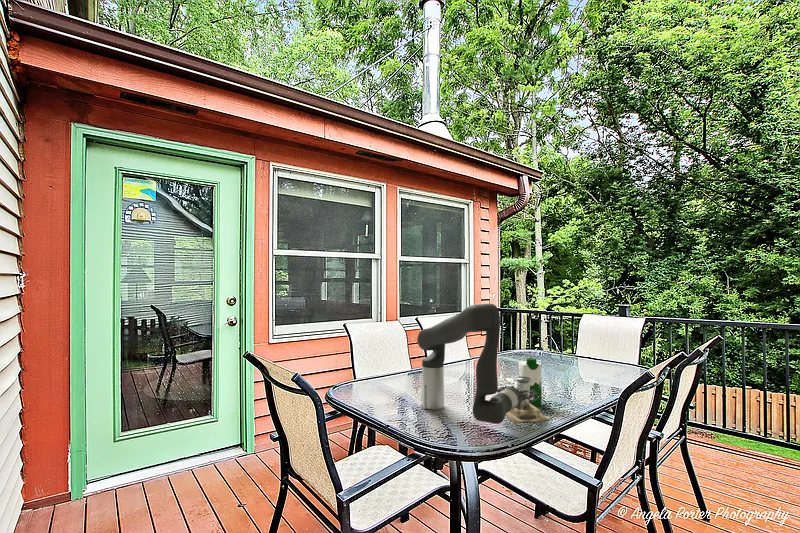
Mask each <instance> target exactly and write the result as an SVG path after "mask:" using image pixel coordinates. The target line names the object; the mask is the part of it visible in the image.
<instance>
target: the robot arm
mask: <svg viewBox="0 0 800 533" xmlns="http://www.w3.org/2000/svg"><path fill="white" fill-rule="evenodd" d="M500 328H501V314H500V311H499V308H498V306H496V305H495V304H494V303H481V304H480V303H479V304H471V305H469V306H467V307H466V308H465V309H463V310H461V311H460V312H459V313H458V314H456V315H455V314H454V315H453V316H451V317H448V318H446V319H444V320H443V321H440V322H438V323H437V324H435V325H433V326H431V327H428V328H422V329H421V330H420V331H419V333H418V334H417V338H416V339H417V345H418V346H419V348H420V349H421V350H423V351H432V352H431V353H430V354H429V355H428V356H426V357H424V358H423V359H422V361H421V370H422V372H421V374H422V376H421V377H422V382H421V386H420V391H421V398H420V399H421V407H423V409H424V410H441V409H443V408H445V378H444V375H445V374H444V373H445V369H444V368H445V366H444V365H445V364H444V362H445V360H446V359H445V357H446V356H445V355H446V344H451V343H452V344H453V343H456V342H459V341H461V340H463V339H464V338H465V337H466V335H467V334H468V333H482V332H485V342H484V345H483V349H482V351H481V353H480V356H479V357H478V360H477V362H476V367H475V368H476V369H475V379H476V380H475V382H476V383H475V384H476V391H475V397H474V400H473V406H472V414H473V416H474V419H475V420H476V421H479V422H482V423H489V424H494V425H495V424H497V425H498V424H501V423H503V422H504V420H505V417H506V413H508V412H510V411H512V410H513V409H515V408H516V407H518V406H519V405H520V404H521V402H522V401H523V400H529V402H533V401H535V400H537V392H536V391H535V389H532V390H531V391H527V390H517V387H515V386H514V385H510V386H507V387H505V386H501V387H499V385H498V363H497V362H498V353H499V352H498V351H499V342H500V340H499V339H500V330H501V329H500ZM524 393H525V394H524ZM529 393H530V394H529ZM494 394H495V395H494ZM528 394H529V396H528ZM490 395H491V398H490V399H489V400H486V397H487V396H490ZM492 395H493V396H492Z"/></svg>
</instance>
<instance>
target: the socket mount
mask: <svg viewBox="0 0 800 533" xmlns="http://www.w3.org/2000/svg"><path fill="white" fill-rule="evenodd" d="M505 417H507V418H509V420H510V421H512V422H513V423H517V424H518V423H531V422H532V423H533V422H547V421H548V422H549V421H550V418H549V417H548V416H547V415H545V414H544V413H542V412H541V409H539V407H535V406H533V405H532V404H530V410H518V409H517V407H516V408H515V409H513V410H512V411H510V412H508V413H506V415H505Z"/></svg>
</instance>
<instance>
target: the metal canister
mask: <svg viewBox="0 0 800 533" xmlns="http://www.w3.org/2000/svg"><path fill="white" fill-rule="evenodd" d="M515 381H516V389H517V390H527V391H530V381H531V378H529V377H524V376H519V375H518V376H516V377H515ZM524 394H525V393H524ZM529 394H530V393H529ZM529 394H528V396H529ZM517 409H518V410H530V402H529V400H523V401H522V402H521V404H520V405H519V406H518V407H517Z"/></svg>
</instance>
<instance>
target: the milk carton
mask: <svg viewBox="0 0 800 533" xmlns="http://www.w3.org/2000/svg"><path fill="white" fill-rule="evenodd" d="M519 376H524V377H529V378H531V381H530V391H531V390H532V389H535V391H536V392H537V400H535V401H533V402H530V404H532V405H533V406H535V407H536V408H542V406H543V404H542V402H543V400H542V398H543V394H542V388H543V387H542V364H541V363H540V362H538V361H537V358H534V357H533V358H532V357H528V358H526V361H520V360H518V377H519Z"/></svg>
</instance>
